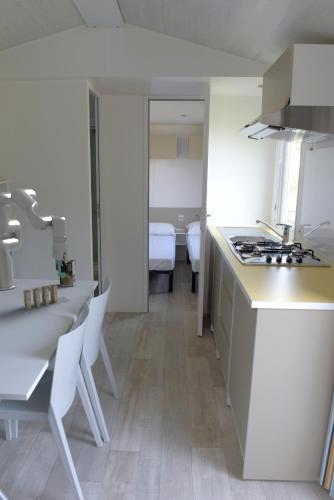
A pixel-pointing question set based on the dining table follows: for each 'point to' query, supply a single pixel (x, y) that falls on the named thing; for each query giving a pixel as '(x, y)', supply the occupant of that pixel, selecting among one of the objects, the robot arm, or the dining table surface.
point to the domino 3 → (45, 295)
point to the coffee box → (69, 274)
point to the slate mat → (60, 300)
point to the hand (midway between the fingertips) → (61, 270)
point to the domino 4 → (53, 293)
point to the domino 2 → (36, 297)
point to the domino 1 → (27, 299)
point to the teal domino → (60, 269)
